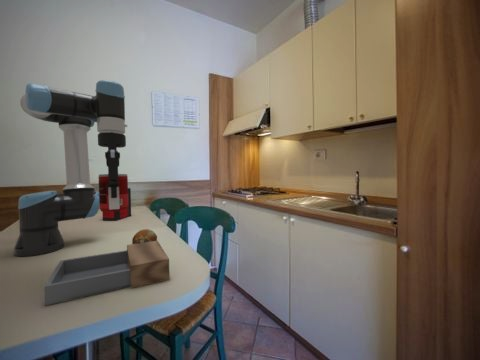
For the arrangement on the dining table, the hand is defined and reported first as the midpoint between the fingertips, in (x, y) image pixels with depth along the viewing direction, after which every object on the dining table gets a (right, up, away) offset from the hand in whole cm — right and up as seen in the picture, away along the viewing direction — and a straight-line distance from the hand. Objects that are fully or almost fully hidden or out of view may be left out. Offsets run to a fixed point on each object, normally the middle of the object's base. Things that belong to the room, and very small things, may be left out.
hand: (114, 207), depth 71 cm
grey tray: (-3, -20, -6) cm, 21 cm away
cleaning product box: (-44, -18, +84) cm, 96 cm away
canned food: (0, -1, 0) cm, 1 cm away
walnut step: (+9, -20, +1) cm, 22 cm away
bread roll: (-3, -20, +28) cm, 34 cm away
